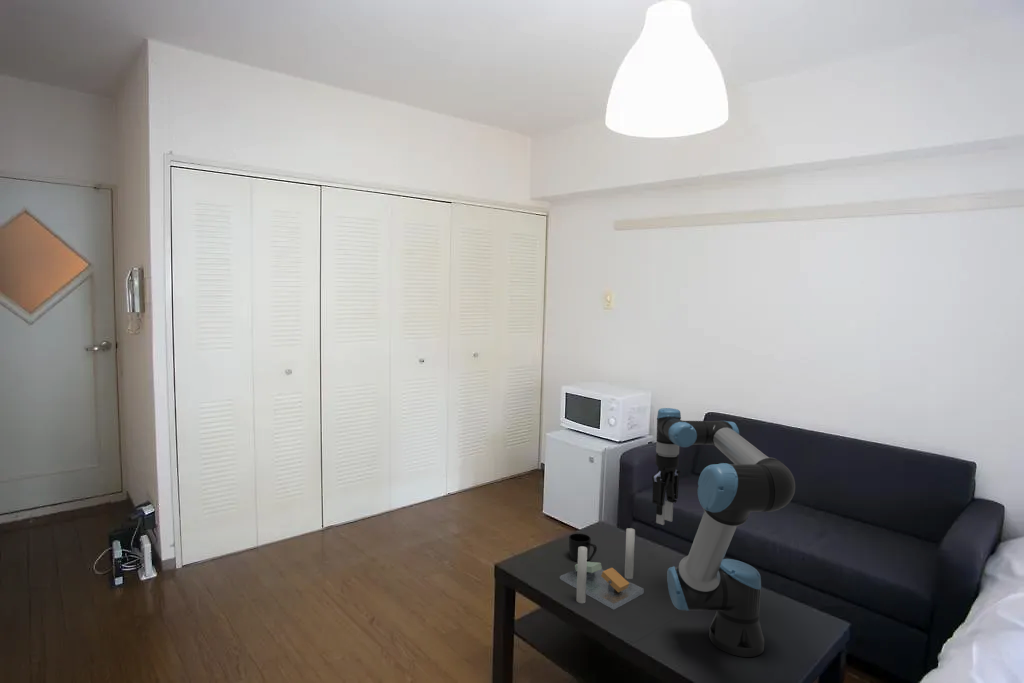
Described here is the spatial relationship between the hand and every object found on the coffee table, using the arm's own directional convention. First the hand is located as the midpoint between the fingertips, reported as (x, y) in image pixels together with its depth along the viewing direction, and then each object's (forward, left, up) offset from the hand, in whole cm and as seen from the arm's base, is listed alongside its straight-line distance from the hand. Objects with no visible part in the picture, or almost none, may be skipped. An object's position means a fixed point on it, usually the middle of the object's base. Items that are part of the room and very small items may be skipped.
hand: (664, 521), depth 192 cm
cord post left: (+13, +26, -25) cm, 38 cm away
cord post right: (+13, +1, -25) cm, 28 cm away
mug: (+32, +5, -25) cm, 40 cm away
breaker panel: (+15, +14, -25) cm, 32 cm away
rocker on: (+21, +14, -19) cm, 32 cm away
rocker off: (+9, +14, -19) cm, 26 cm away
